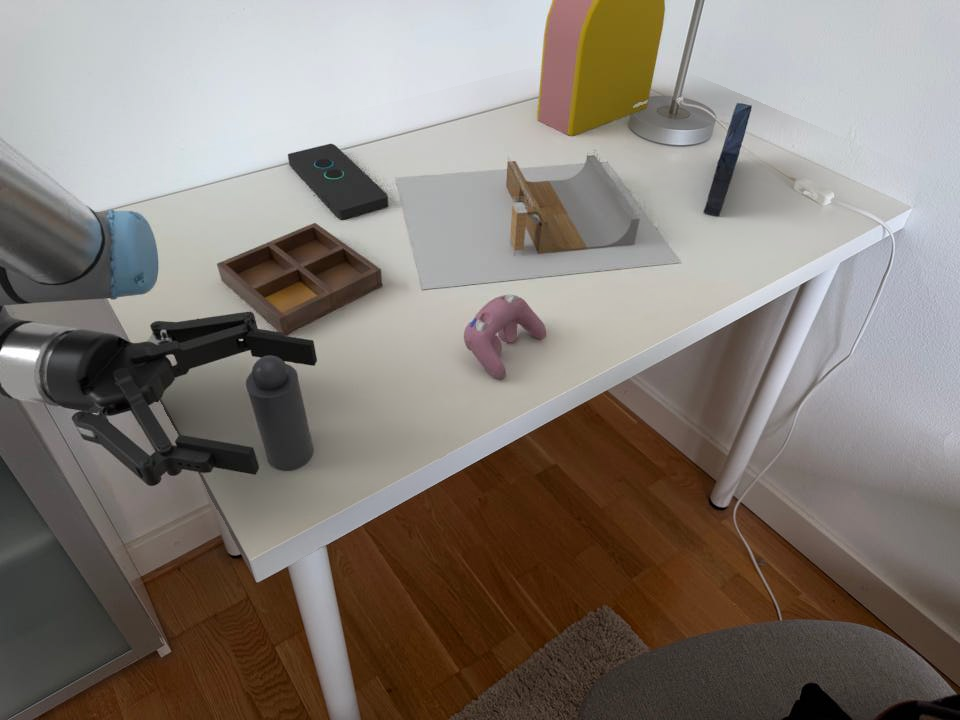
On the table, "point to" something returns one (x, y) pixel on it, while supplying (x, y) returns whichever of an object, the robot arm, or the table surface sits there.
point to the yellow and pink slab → (597, 61)
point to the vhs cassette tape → (728, 159)
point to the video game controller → (500, 330)
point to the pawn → (280, 413)
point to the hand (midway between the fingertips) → (287, 403)
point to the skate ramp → (526, 224)
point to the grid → (299, 277)
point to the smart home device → (338, 181)
